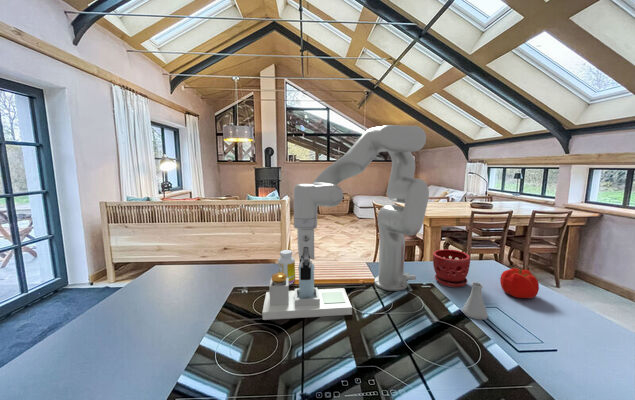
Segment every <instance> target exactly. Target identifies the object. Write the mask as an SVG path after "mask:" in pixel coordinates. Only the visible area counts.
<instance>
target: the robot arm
mask: <svg viewBox="0 0 635 400" xmlns="http://www.w3.org/2000/svg"><path fill="white" fill-rule="evenodd" d="M426 141H427V134H426V132H425V130H424V129H423V128H422V127H420V126H418V125H394V124H390V125H389V124H388V125H386V124H385V125H382V126H381V125H380V126H375V127H370V128H368V129H367V130H365V131H364V132H363V133H362V134H361V135H360V136H359V138H358V139H357V140H356V141H355V142H354V144H352V146H351V147H350V148H349V149H348V150H347V152H346V153H345V154H344V155H343V156H341V157H340V158H339V159H337V160H335V161H334V162H333V163H332V164H330V165H329V166H327V167H326V168H325V169H324V170H323V171H322V172H321V173H320V174H319V175H318V176H317V177H316V178H315V179H314V181H313V182H312V183H299V184H296V185H295V186H294V187H293V228H294V229H297V233H296V235H297V252H298V253H297V254H298V258H299V263H300V262H301V267H300V279H301V280H310V279H311V267H310V261H313V260H314V259H315V229H317V228H318V207H327V208H333V207H336V206H339V205H340V204H341V202H342V201H343V199H344V191H343V190H342V188H341V187H340V186H339V184H340V183H341V182H343V181H345V180H347V179H350V178H353V177H355V176H358V175H359V174H361V173H363V172H364V171H365V170H366V169H367V167H368V166H369V165H370V164H371V162H372V161H373V160H374V159H375V158H376V157H377V155H379V153H382V152H383V153H384V152H387V153H388V154H389V156H390V158H391V170H390V175H389V180H388V184H387V190H386V195H387V198H388V199H389V200H391V201H392V202H396V203H401V204H404V206H400V205H396V204H386V205H384V206H381V208H380V209H379V210H378V213H377V224H378V230H379V245H378V246H379V248H378V250H379V252H378V275H377V276H376V277H375V278H374V285H375V286H376V287H377V288H380V289H381V290H385V291H390V292H400V291H404V290H406V289H407V287H408V281H416V280H417V279H416V277H417V276H416V275H415V274H410V273H409V272H406V273H404V272H405V269H404V268H405V252H406V250H405V249H406V248H405V247H406V240H405V239H406V238H405V235H406V236H415V235H417V234H418V233H420V231H421V229H422V227H423V224H424V222H425V221H424V220H425V216H426V213H427V212H426V211H427V207H428V202H429V197H430V189H429V185H428V183H427V182H426V181H425V180H424V179H421V178H415V173H416V161H415V157H414V155H413V154H412V152H418V151H420V150H421V149H423V147H425V145H426Z"/></svg>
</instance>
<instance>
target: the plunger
mask: <svg viewBox="0 0 635 400" xmlns="http://www.w3.org/2000/svg"><path fill="white" fill-rule="evenodd" d="M271 279H272V281H273V282H274V285H285V281H286V279H287V277H286V274H285V273H278V272H276V273H273V274H272V275H271Z"/></svg>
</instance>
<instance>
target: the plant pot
mask: <svg viewBox="0 0 635 400" xmlns="http://www.w3.org/2000/svg"><path fill="white" fill-rule="evenodd" d="M449 257H451V258H449ZM456 258H458V259H456ZM432 262H433V263H432V265H433V270H434V272H435V275H434V279H435V281H436V282H438V283H439V284H440V285H442V286H446V287H449V288H460V287H464V286H465V285H467V283H468V279H467V276H468V275H469V271H470V263H471V256H470V255H469V253H466V252H464V251H462V250H461V251H460V250H456V249H455V250H454V249H446V248H445V249H436V250H435V251H433V253H432Z"/></svg>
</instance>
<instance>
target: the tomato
mask: <svg viewBox="0 0 635 400" xmlns="http://www.w3.org/2000/svg"><path fill="white" fill-rule="evenodd" d="M499 279H500V281H499V282H500V287H501V289H502V290H503V292H504V293H505V294H508V295H510V296H512V297H513V298H514V297H515V298H517V299H532V298H535V297H537V295H538V294H539V290H540V285H539V281H538V279H537V277H536V276H535V275H534V274H532V273H531V271H530V270H528V269H524V268H523V269H521V268H520V269H519V268H517V267H516V268H514V267H512V268H510V269H507V270H504V271H503V272H502V273H501V274H500V278H499Z"/></svg>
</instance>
